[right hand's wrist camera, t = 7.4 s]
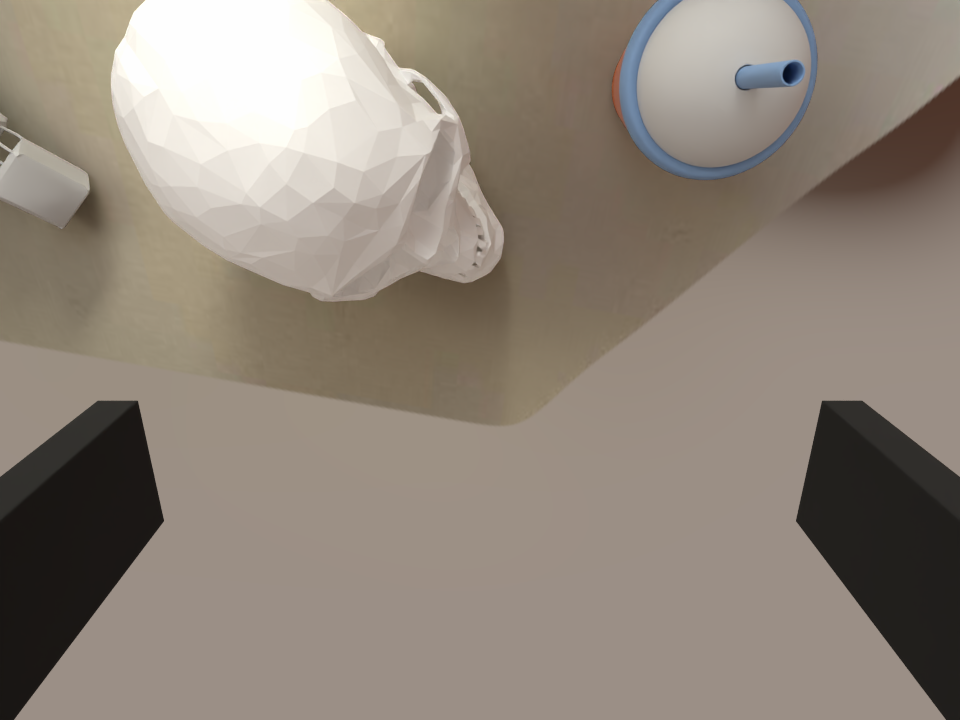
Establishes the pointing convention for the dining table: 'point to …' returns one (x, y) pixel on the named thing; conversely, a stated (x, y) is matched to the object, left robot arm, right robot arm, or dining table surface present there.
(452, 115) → the skull
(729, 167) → the cup with straw
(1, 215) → the dining table surface
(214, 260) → the dining table surface
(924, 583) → the right robot arm
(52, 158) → the white segmented bar
